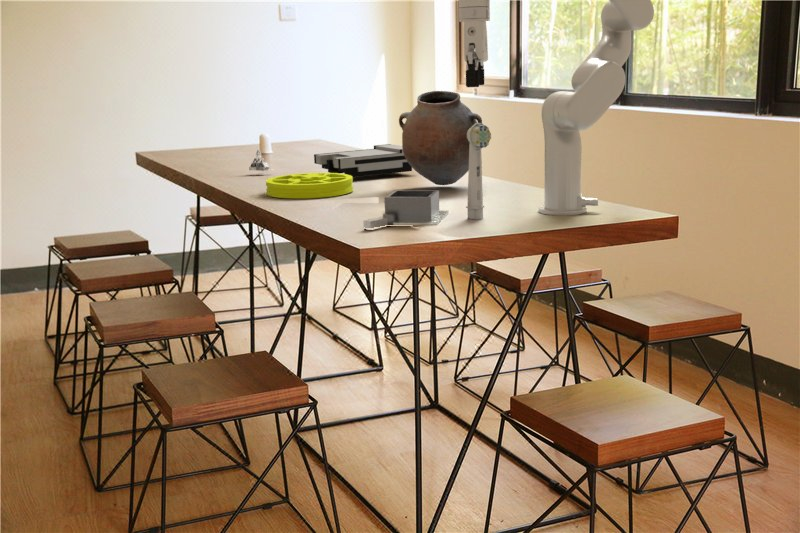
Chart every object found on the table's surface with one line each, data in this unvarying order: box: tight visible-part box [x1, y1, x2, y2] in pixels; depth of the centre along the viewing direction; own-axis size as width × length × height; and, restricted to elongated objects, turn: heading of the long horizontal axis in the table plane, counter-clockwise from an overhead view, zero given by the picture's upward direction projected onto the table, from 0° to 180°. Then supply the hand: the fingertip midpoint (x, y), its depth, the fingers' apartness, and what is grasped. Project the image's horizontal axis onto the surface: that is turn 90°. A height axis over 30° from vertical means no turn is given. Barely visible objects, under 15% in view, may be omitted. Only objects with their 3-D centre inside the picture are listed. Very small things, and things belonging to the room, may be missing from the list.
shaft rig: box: [363, 189, 449, 228], centre depth 247 cm, size 18×30×7 cm, turn 168°
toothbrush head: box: [465, 122, 492, 221], centre depth 241 cm, size 5×7×25 cm
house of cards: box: [249, 149, 275, 172], centre depth 364 cm, size 9×9×8 cm
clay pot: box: [398, 90, 483, 186], centre depth 304 cm, size 26×25×30 cm
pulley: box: [265, 172, 354, 199], centre depth 305 cm, size 28×28×5 cm
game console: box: [313, 143, 413, 178], centre depth 347 cm, size 21×32×8 cm, turn 121°
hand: (475, 86), depth 236 cm, fingers open, 9 cm apart
